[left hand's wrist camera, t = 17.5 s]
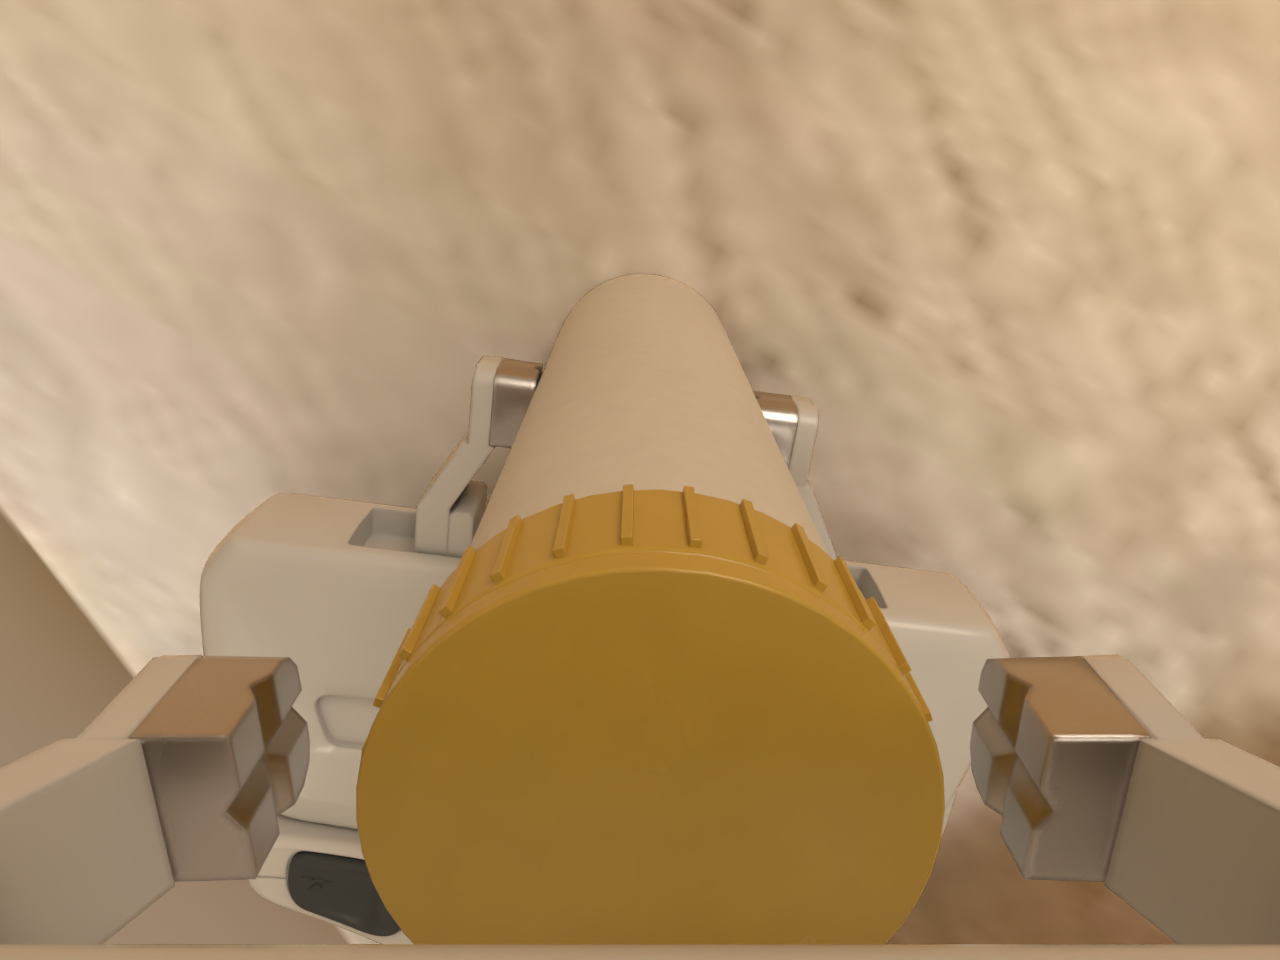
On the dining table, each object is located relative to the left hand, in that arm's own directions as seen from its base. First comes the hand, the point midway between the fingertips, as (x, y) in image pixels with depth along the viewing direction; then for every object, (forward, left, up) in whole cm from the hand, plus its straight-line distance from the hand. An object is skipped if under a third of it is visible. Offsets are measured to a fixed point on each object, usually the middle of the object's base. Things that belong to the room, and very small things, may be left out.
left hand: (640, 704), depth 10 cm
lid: (0, 0, +2) cm, 2 cm away
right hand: (0, +1, -12) cm, 12 cm away
